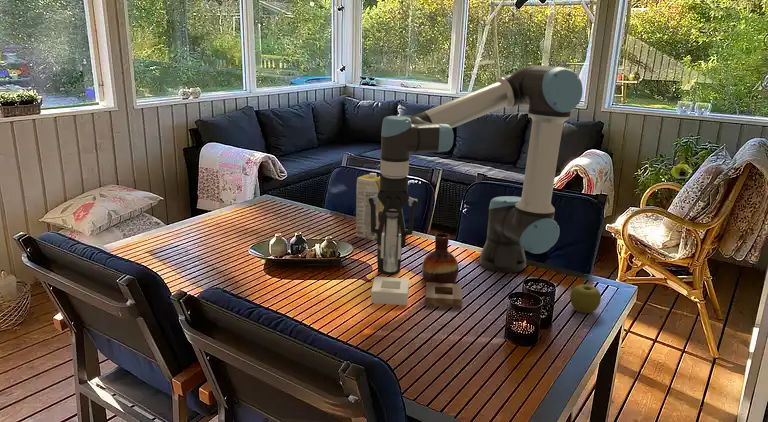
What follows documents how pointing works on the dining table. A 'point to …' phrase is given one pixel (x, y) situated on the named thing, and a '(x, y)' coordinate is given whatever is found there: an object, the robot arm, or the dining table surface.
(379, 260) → the travel mug
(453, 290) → the mount
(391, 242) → the pin
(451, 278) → the vase
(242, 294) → the dining table surface
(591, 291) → the apple
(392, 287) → the socket
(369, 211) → the juice carton
